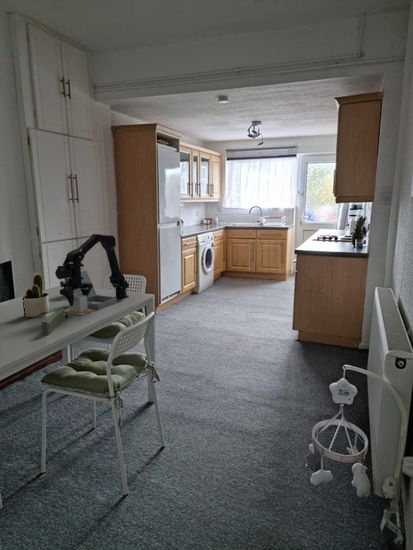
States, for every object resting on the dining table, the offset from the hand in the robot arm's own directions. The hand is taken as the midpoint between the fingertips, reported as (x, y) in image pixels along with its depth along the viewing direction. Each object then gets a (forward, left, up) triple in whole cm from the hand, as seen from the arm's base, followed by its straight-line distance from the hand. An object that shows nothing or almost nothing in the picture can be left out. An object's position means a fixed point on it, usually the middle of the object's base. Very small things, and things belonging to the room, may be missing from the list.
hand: (78, 304), depth 199 cm
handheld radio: (+22, +7, -4) cm, 23 cm away
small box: (+14, -17, -4) cm, 22 cm away
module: (0, 0, -4) cm, 4 cm away
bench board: (0, 0, -4) cm, 4 cm away
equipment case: (-14, -3, -4) cm, 15 cm away
